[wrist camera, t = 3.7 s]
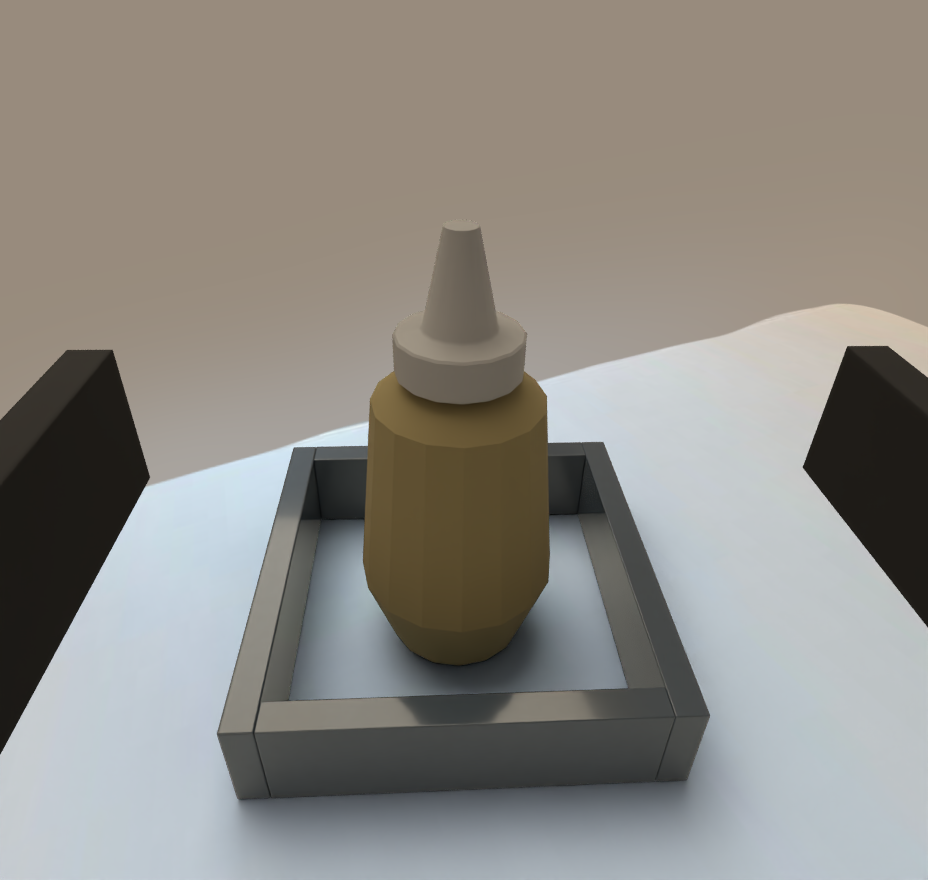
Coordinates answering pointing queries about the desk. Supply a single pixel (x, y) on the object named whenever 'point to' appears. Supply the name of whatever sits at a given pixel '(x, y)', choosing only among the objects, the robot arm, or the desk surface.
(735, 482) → the desk surface
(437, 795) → the desk surface
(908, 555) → the robot arm
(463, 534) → the squeeze bottle
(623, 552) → the grey open square frame
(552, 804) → the desk surface
